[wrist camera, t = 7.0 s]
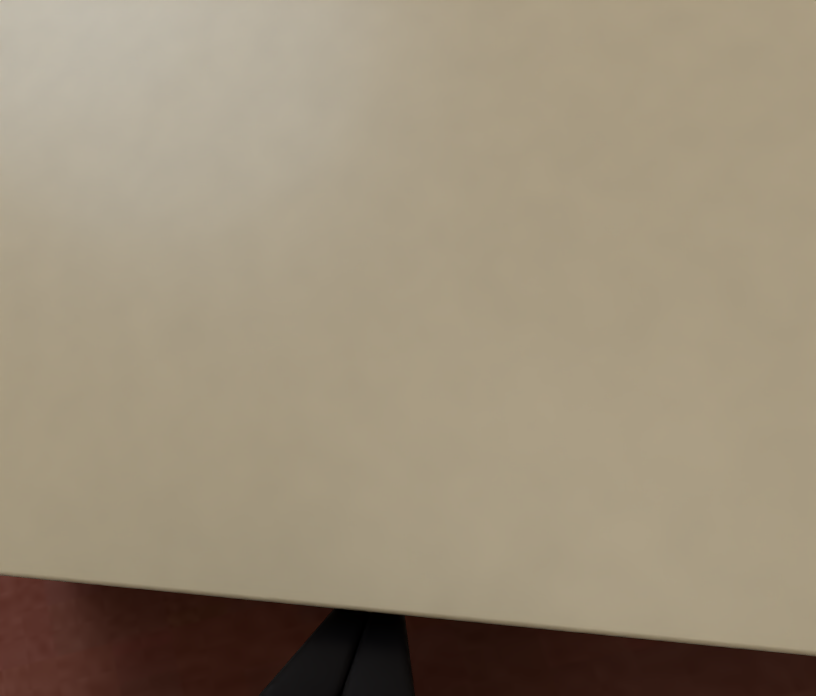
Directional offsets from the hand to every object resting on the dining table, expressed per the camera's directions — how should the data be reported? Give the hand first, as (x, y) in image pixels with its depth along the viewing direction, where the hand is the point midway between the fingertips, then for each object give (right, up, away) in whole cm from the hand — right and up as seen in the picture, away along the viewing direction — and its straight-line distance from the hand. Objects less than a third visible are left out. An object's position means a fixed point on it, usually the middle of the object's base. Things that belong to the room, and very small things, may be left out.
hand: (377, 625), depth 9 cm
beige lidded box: (+2, +6, +9) cm, 11 cm away
